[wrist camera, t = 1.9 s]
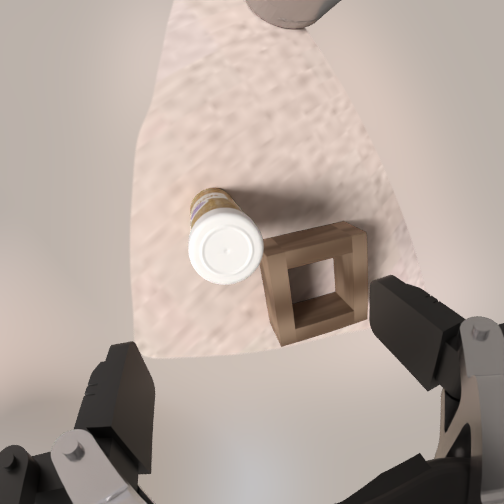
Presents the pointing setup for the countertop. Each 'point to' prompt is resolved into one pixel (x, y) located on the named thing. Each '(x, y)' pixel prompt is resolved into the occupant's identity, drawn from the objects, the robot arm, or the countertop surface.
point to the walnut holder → (324, 307)
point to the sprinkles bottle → (222, 239)
